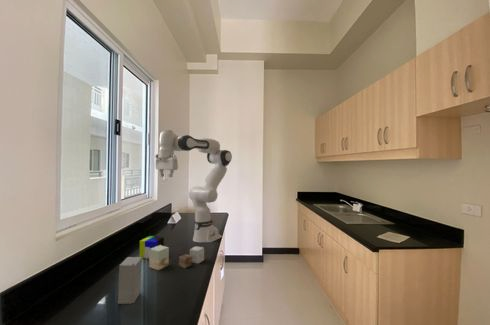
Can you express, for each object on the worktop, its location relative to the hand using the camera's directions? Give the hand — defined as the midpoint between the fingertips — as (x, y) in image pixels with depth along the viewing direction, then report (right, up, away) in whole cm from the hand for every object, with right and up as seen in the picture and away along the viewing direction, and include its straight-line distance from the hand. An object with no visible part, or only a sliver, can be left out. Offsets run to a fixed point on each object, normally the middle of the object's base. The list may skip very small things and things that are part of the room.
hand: (166, 176), depth 155 cm
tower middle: (+4, -42, -23) cm, 49 cm away
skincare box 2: (+23, -48, -16) cm, 55 cm away
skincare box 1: (+3, -47, -56) cm, 73 cm away
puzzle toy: (-6, -48, -7) cm, 49 cm away
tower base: (+4, -47, -23) cm, 53 cm away
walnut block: (+18, -48, -22) cm, 55 cm away
